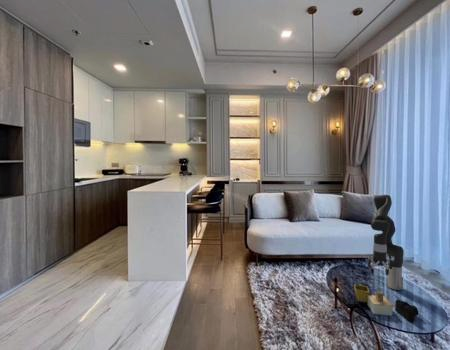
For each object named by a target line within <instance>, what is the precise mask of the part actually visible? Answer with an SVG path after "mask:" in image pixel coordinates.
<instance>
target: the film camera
mask: <svg viewBox="0 0 450 350" xmlns="http://www.w3.org/2000/svg"><path fill="white" fill-rule="evenodd" d="M394 304H395V306H394V310H395V312H397V313H398V315H400V316H401V317H402V318H404V320H406V321H407V322H408V323H412V324H413V323H414V322H416V321H415V320H416V316H419V310H418V308H417V306H416V305H412V304H410V303H408V302H407V301H406V300H400V299H398V298H397V299H396V300H395V303H394Z"/></svg>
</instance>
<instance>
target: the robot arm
mask: <svg viewBox="0 0 450 350" xmlns="http://www.w3.org/2000/svg"><path fill="white" fill-rule="evenodd" d="M392 200H393V199H392V198H391V195H389V194H381V195H379V194H378V195H375V196H373V203H374V207H375V209H376V212H375V216H374V218H373V219H372V221H371V223H370V228H371V229H372V230H373V231H378V232H381V233H375V234H374V235H373V246H372V247H373V248H372V251H373V252H372V257H371V258H370V257H367V262H366V263H367V267H368V268H370V269H369V270H370V273H371V275H374V274H375V271H374V270H375V269H374V268H376V266H381V267H384V268H385V269H384V270H385V275H386V276H387V282H386V283H387V287H388V288H389V289H392V290H394V291H395V290H396V291H401V290H402V291H403V289H404V276H403V263H404V255H405V254H404V253H405V252H404V248H403V247H402V246H400V245H397V244H393V240H392V238H393V236H394V234H395V233H396V226H395V221H394V220H393V219H392V218H391V217H390V216H389V213H390V210H391V207H392V205H393V202H392ZM387 255H388V256H390V257H393V259H391V258H388V259H387Z"/></svg>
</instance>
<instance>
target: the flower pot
mask: <svg viewBox="0 0 450 350" xmlns="http://www.w3.org/2000/svg"><path fill="white" fill-rule="evenodd" d="M353 286H354V293H355V297H356V300H357V301H358V302H362V303H368V297H367V295H370V289H369V286H367V285H359V284H353Z"/></svg>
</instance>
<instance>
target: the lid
mask: <svg viewBox="0 0 450 350" xmlns="http://www.w3.org/2000/svg"><path fill="white" fill-rule="evenodd" d="M367 297H368V298H369V299H370V301H371V302H372V304H373V305H381V306H391V307H392V308H394V306H393V305H392V303H393V302H391V301H390V300H389V299H388V297H387V296H384V292H382V291H381V290H380V291H377V290H376V291H375V295H373V294H372V295H371V294H369V295H367Z"/></svg>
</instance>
